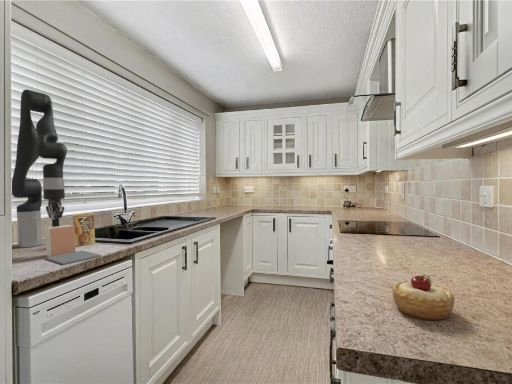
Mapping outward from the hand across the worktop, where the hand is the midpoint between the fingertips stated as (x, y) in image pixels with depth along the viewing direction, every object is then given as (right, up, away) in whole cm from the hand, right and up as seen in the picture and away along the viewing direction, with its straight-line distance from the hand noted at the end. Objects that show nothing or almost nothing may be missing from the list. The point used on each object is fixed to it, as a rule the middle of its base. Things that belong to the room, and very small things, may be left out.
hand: (55, 227), depth 123 cm
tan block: (+4, -11, -2) cm, 12 cm away
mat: (+13, -11, -8) cm, 19 cm away
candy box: (+2, -11, +17) cm, 20 cm away
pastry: (+125, -11, -59) cm, 139 cm away
